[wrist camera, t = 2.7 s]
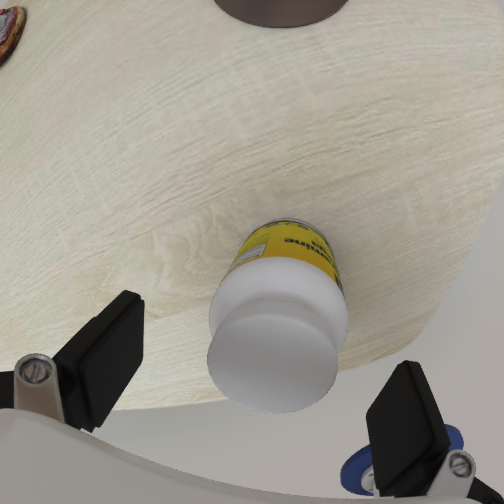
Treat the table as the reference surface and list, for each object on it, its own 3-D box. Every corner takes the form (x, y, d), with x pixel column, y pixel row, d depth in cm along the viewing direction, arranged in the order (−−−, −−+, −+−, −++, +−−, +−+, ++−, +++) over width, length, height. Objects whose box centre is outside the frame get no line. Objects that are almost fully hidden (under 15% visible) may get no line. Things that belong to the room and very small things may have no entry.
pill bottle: (350, 268, 20) (390, 381, 10) (280, 317, 22) (261, 442, 11) (293, 196, 19) (286, 255, 9) (222, 254, 21) (153, 352, 11)
